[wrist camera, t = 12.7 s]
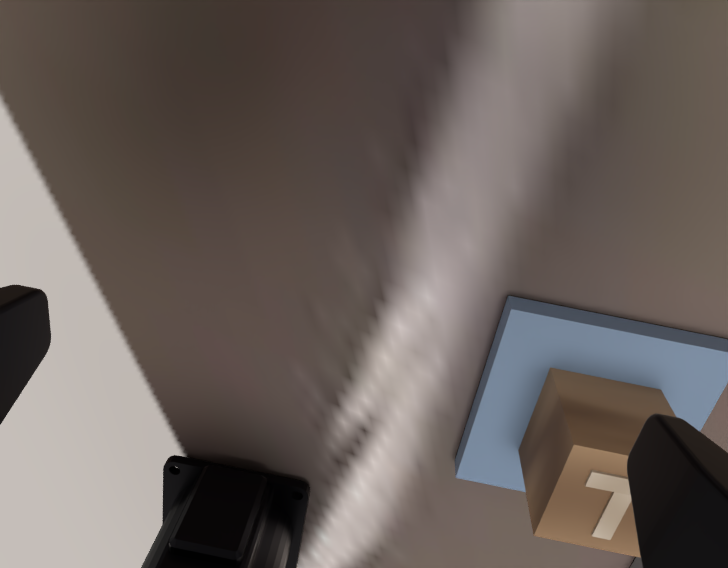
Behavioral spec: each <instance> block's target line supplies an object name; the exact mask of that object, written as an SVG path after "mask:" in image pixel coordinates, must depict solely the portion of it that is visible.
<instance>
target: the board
mask: <svg viewBox="0 0 728 568" xmlns="http://www.w3.org/2000/svg"><path fill="white" fill-rule="evenodd" d="M550 367H551V368H556V369H561V370H566V371H571V372H576V373H581V374H586V375H591V376H596V377H601V378H606V379H611V380H616V381H621V382H626V383H631V384H636V385H641V386H646V387H651V388H656V389H661V390H662V392H663V394H664V396H665V398H666V399H667V401H668V403H669V405H670V406H671V408H672V410H673V412H674V414H675V415H676V417H678V418H681V419H683V420H685V421H686V422H688V423H689V424H690V425H692V426H693V427H694V428H696V429H697V430H698V431H700V430H701V429H702V427H703V425H704V423H705V422H706V420H707V418H708V416H709V415H710V413H711V411H712V409H713V408H714V406H715V404H716V402H717V400H718V399H719V397H720V395H721V393H722V392H723V390H724V388H725V386H726V385H727V383H728V339H724V338H719V337H714V336H709V335H704V334H699V333H694V332H689V331H684V330H679V329H674V328H669V327H664V326H659V325H654V324H649V323H644V322H639V321H634V320H629V319H624V318H619V317H614V316H608V315H603V314H598V313H593V312H588V311H583V310H578V309H573V308H568V307H563V306H558V305H553V304H548V303H543V302H538V301H533V300H528V299H523V298H518V297H513V296H508V297H507V301H506V304H505V307H504V310H503V313H502V316H501V319H500V322H499V325H498V328H497V331H496V335H495V338H494V341H493V344H492V347H491V350H490V353H489V356H488V359H487V362H486V365H485V369H484V372H483V375H482V378H481V381H480V384H479V387H478V390H477V393H476V396H475V399H474V403H473V406H472V409H471V412H470V415H469V418H468V421H467V424H466V427H465V430H464V433H463V437H462V440H461V443H460V446H459V449H458V452H457V455H456V458H455V473H456V478H460V479H465V480H469V481H474V482H479V483H484V484H489V485H494V486H499V487H504V488H509V489H513V490H518V491H523V492H526V490H525V485H524V479H523V474H522V468H521V463H520V458H519V452H518V450H519V447H520V445H521V442H522V439H523V437H524V434H525V432H526V429H527V426H528V424H529V421H530V419H531V416H532V413H533V411H534V408H535V406H536V403H537V400H538V398H539V395H540V393H541V390H542V388H543V385H544V382H545V380H546V377H547V375H548V372H549V369H550Z"/></svg>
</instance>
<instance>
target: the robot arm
mask: <svg viewBox="0 0 728 568" xmlns="http://www.w3.org/2000/svg"><path fill="white" fill-rule="evenodd" d="M50 342H51V331H50V320H49V310H48V300H47V296H46V294H45V293H44V292H43V291H42V290H40V289H36V288H31V287H26V286H21V285H10V286H6V287H2V288H0V424H1V423H2V421H3V420H4V418H5V417H6V415H7V413H8V412H9V411H10V409H11V407H12V406H13V404H14V403H15V401H16V400H17V398H18V397H19V395H20V394H21V392H22V390H23V389H24V387H25V386H26V384H27V383H28V381H29V380H30V378H31V377H32V375H33V373H34V372H35V370H36V369H37V367H38V366H39V364H40V363H41V361H42V360H43V358H44V357H45V355H46V353H47V351H48V349H49V346H50ZM176 467H178V468H176ZM163 471H164V472H163V525H162V527H161V529H160V531H159V533H158V535H157V537H156V539H155V541H154V543H153V545H152V547H151V549H150V551H149V553H148V555H147V557H146V559H145V561H144V563H143V565H142V567H141V568H297V563H298V557H299V552H300V546H301V540H302V534H303V529H304V523H305V517H306V512H307V506H308V500H309V495H310V487H309V486H308V484H306V483H305V482H302V481H299V480H294V479H289V478H285V477H280V476H275V475H270V474H265V473H260V472H255V471H250V470H246V469H241V468H236V467H231V466H226V465H221V464H216V463H212V462H207V461H202V460H197V459H192V458H187V457H182V456H175V455H174V456H171V457H169V458H168V460H167V461H166V463H165V465H164V469H163ZM627 475H628V481H629V488H630V494H631V500H632V507H633V513H634V519H635V526H636V532H637V538H638V545H639V551H640V557H641V562H642V567H643V568H728V453H727V452H726V451H725V450H723V449H722V448H721V447H719V446H718V445H717V444H715V443H714V442H713V441H711V440H710V439H709V438H707V437H706V436H705V435H704V434H702V433H701V432H700V431H698V430H697V429H696V428H694V427H693V426H692V425H690V424H689V423H688V422H686V421H685V420H683V419H681V418H678V417H673V416H668V415H663V414H658V413H655V414H653V415H650V416H649V417H648V418H647V420H646V421H645V423H644V425H643V427H642V429H641V431H640V433H639V435H638V437H637V439H636V441H635V443H634V445H633V447H632V449H631V451H630V453H629V456H628V460H627ZM297 492H300V493H297Z"/></svg>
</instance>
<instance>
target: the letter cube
mask: <svg viewBox="0 0 728 568" xmlns="http://www.w3.org/2000/svg"><path fill="white" fill-rule="evenodd" d="M655 413H658V414H663V415H668V416H673V417H676V415H675V414H674V412H673V410H672V408H671V406H670V405H669V403H668V401H667V399H666V398H665V396H664V394H663V392H662V390H661V389H656V388H651V387H646V386H641V385H636V384H631V383H626V382H621V381H616V380H611V379H606V378H601V377H596V376H591V375H586V374H581V373H576V372H571V371H566V370H561V369H556V368H551V367H550V369H549V372H548V375H547V377H546V380H545V382H544V385H543V388H542V390H541V393H540V395H539V398H538V400H537V403H536V406H535V408H534V411H533V413H532V416H531V419H530V421H529V424H528V426H527V429H526V432H525V434H524V437H523V439H522V442H521V445H520V447H519V450H518V452H519V458H520V463H521V468H522V474H523V479H524V485H525V490H526V496H527V501H528V507H529V512H530V518H531V523H532V529H533V534H534V536H538V537H542V538H547V539H552V540H557V541H562V542H567V543H572V544H577V545H582V546H586V547H591V548H596V549H601V550H606V551H611V552H616V553H621V554H625V555H630V556H635V557H640V551H639V545H638V538H637V532H636V526H635V519H634V513H633V507H632V500H631V494H630V488H629V481H628V475H627V460H628V456H629V453H630V451H631V449H632V447H633V445H634V443H635V441H636V439H637V437H638V435H639V433H640V431H641V429H642V427H643V425H644V423H645V421H646V420H647V418H648V417H649V416H650V415H653V414H655ZM640 558H641V557H640Z"/></svg>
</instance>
